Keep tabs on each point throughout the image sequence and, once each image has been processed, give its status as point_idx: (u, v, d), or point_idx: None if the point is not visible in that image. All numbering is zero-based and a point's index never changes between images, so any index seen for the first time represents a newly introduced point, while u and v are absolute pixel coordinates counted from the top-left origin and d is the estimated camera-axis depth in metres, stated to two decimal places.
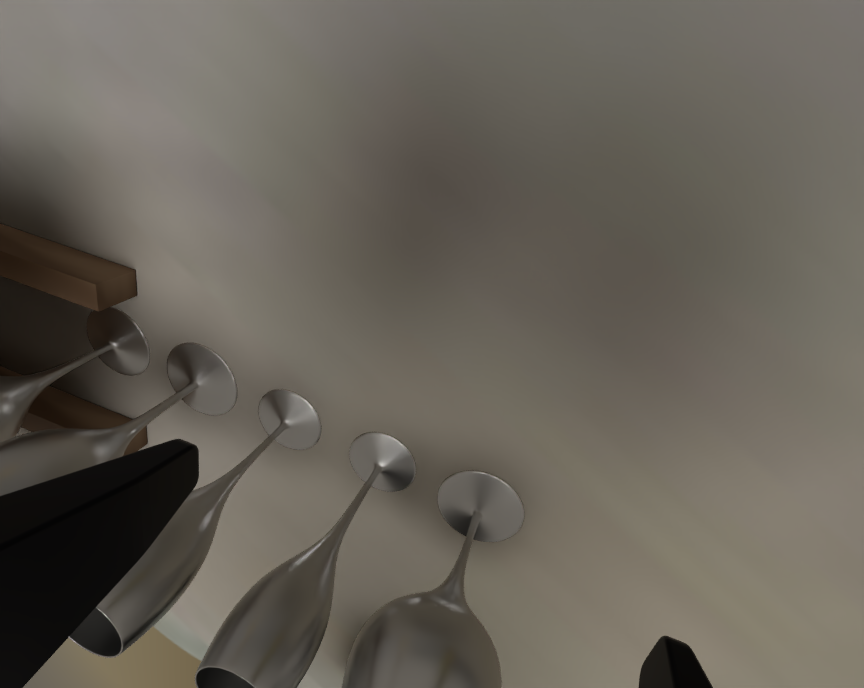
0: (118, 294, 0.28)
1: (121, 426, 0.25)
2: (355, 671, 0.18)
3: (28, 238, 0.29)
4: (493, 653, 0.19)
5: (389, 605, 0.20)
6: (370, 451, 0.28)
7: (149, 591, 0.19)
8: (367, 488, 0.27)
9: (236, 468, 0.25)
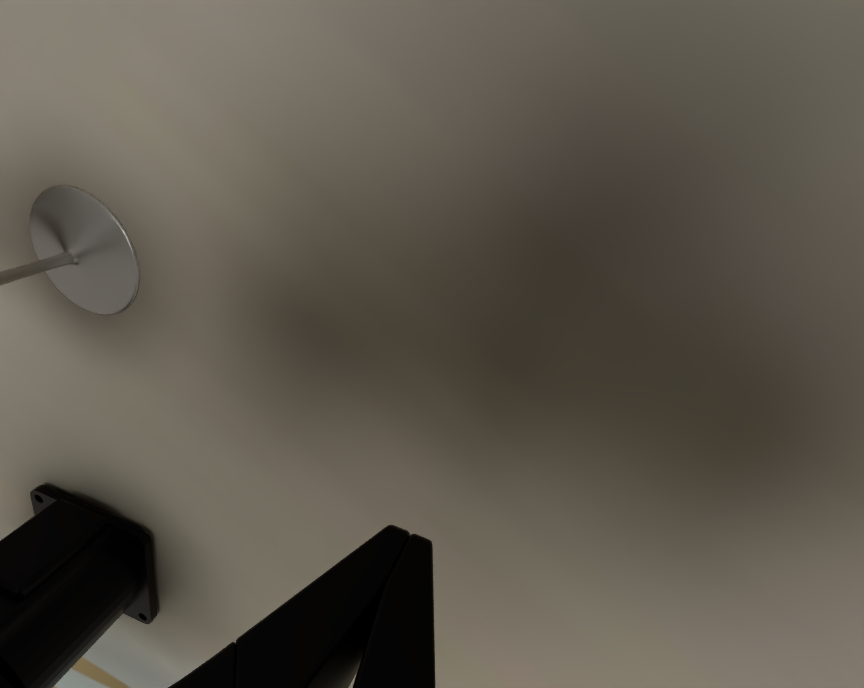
0: None
1: None
2: None
3: None
4: None
5: None
6: None
7: None
8: None
9: None
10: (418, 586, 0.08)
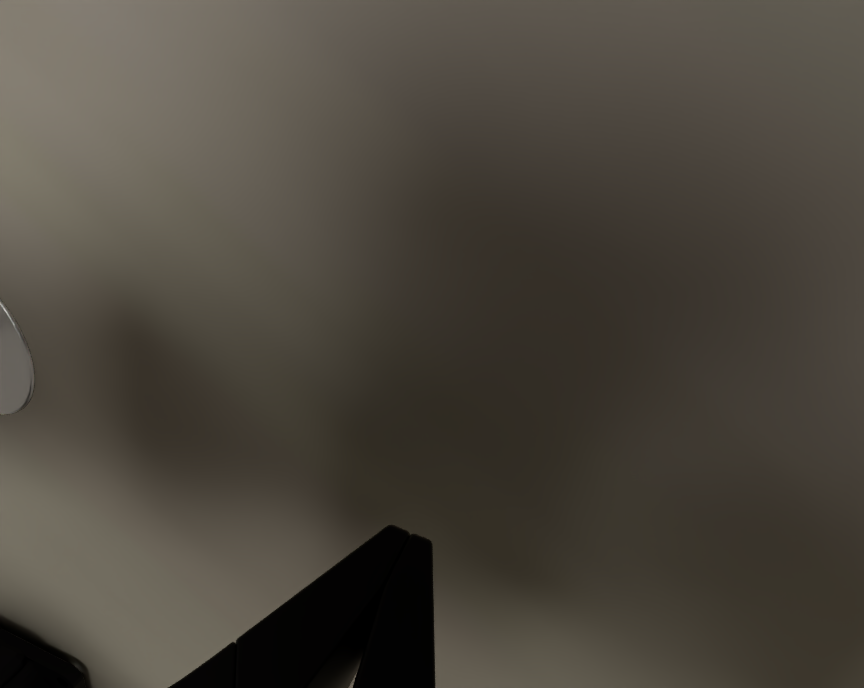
0: None
1: None
2: None
3: None
4: None
5: None
6: None
7: None
8: None
9: None
10: (418, 586, 0.08)
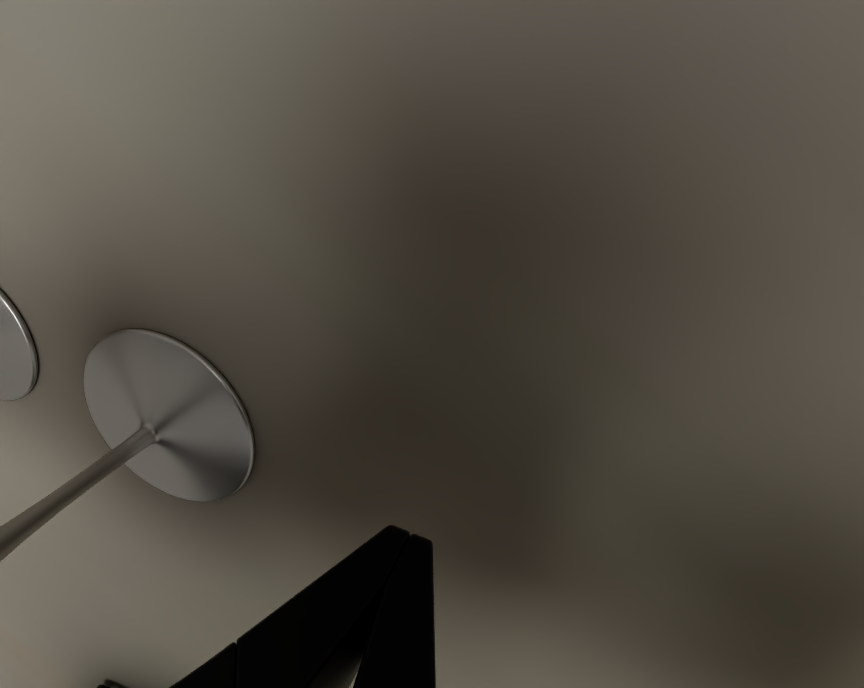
0: None
1: None
2: None
3: None
4: None
5: None
6: None
7: None
8: None
9: None
10: (418, 586, 0.08)
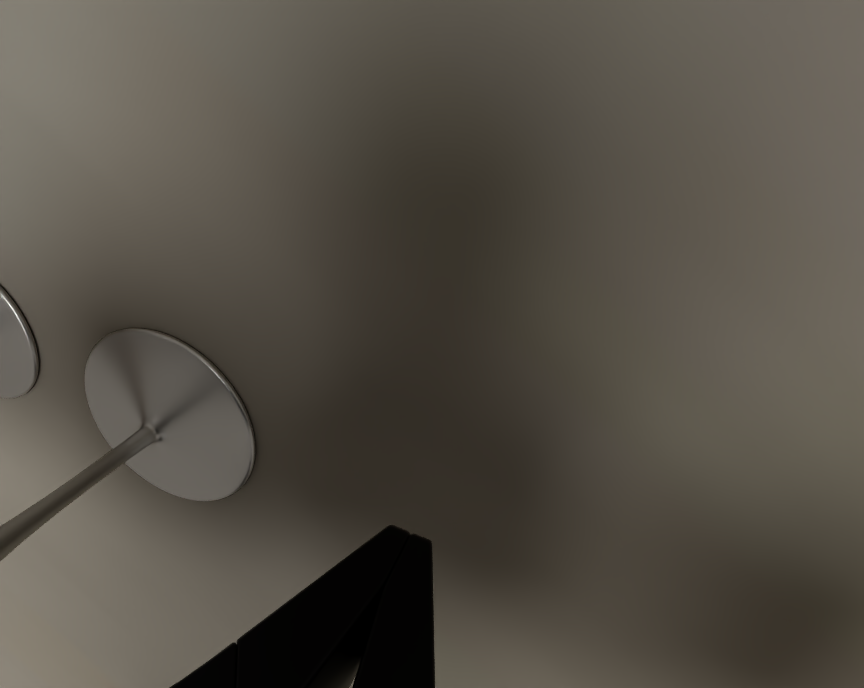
0: None
1: None
2: None
3: None
4: None
5: None
6: None
7: None
8: None
9: None
10: (418, 586, 0.08)
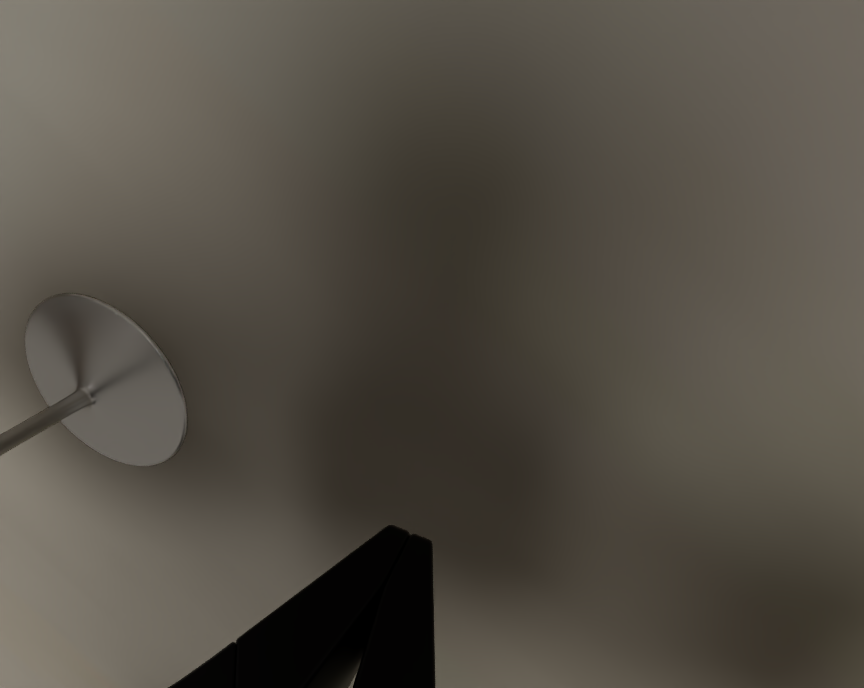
0: None
1: None
2: None
3: None
4: None
5: None
6: None
7: None
8: None
9: None
10: (418, 586, 0.08)
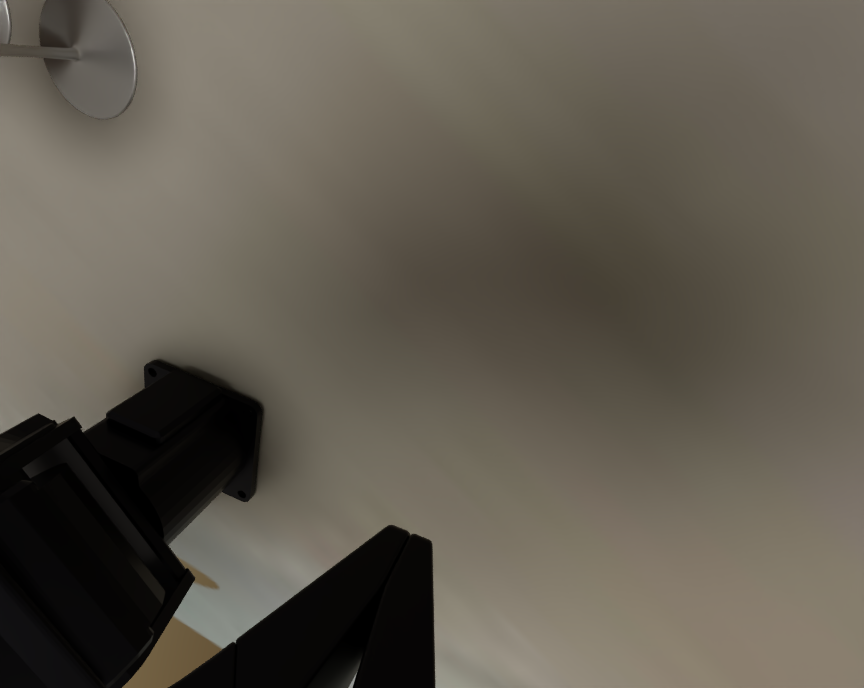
0: None
1: None
2: None
3: None
4: None
5: None
6: None
7: None
8: None
9: None
10: (418, 586, 0.08)
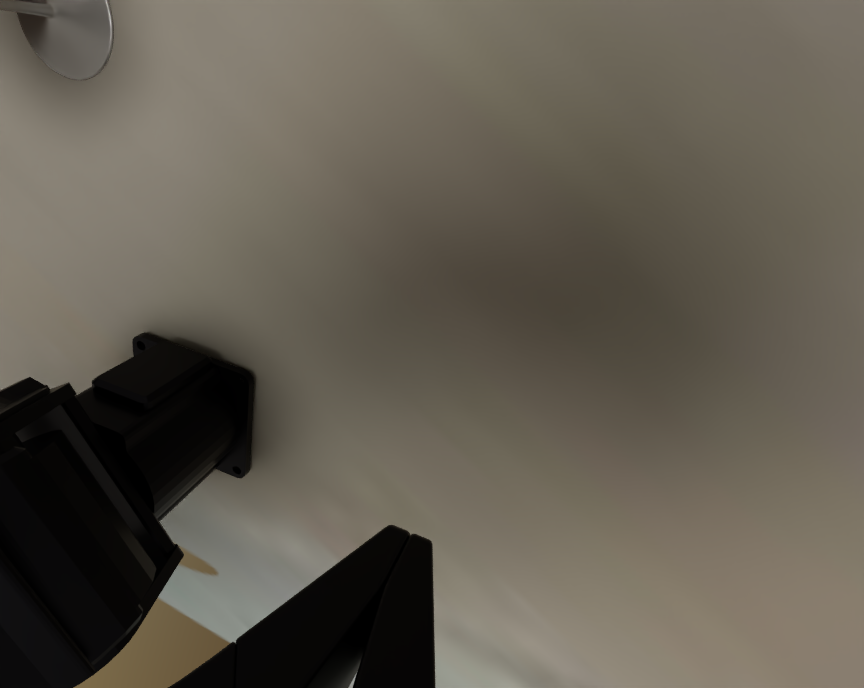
0: None
1: None
2: None
3: None
4: None
5: None
6: None
7: None
8: None
9: None
10: (418, 586, 0.08)
